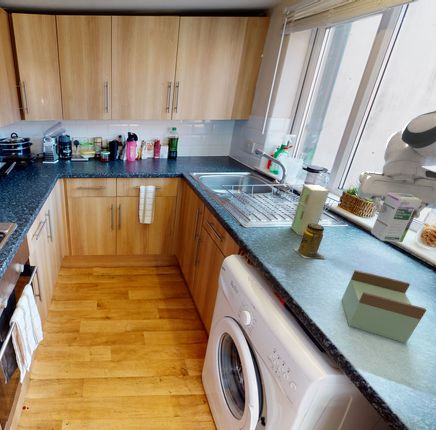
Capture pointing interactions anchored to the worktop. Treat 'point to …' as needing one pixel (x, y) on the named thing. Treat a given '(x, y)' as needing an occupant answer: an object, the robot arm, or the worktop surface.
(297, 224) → the toy refrigerator
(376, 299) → the open green tray
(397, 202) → the syrup box
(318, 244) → the condiment
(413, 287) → the worktop surface
